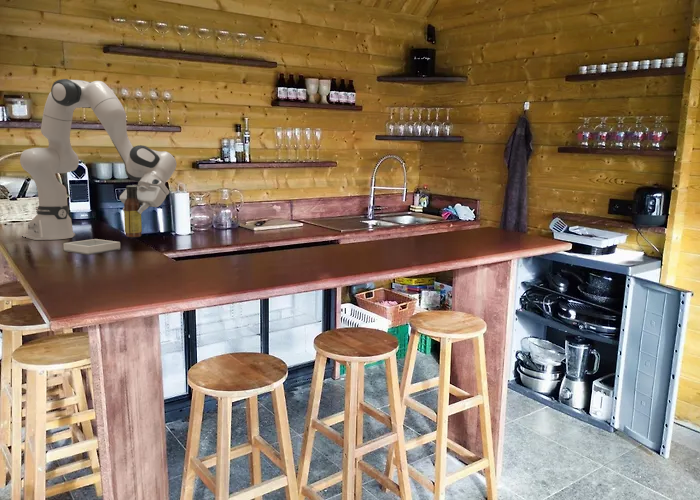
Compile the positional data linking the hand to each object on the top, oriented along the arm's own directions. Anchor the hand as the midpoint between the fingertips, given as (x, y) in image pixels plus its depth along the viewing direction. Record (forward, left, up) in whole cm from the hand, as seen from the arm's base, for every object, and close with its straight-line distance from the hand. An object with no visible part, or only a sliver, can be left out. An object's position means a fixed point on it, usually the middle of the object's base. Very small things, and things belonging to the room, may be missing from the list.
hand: (131, 212), depth 226 cm
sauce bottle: (-1, +1, -10) cm, 10 cm away
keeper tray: (-12, -9, -15) cm, 21 cm away
